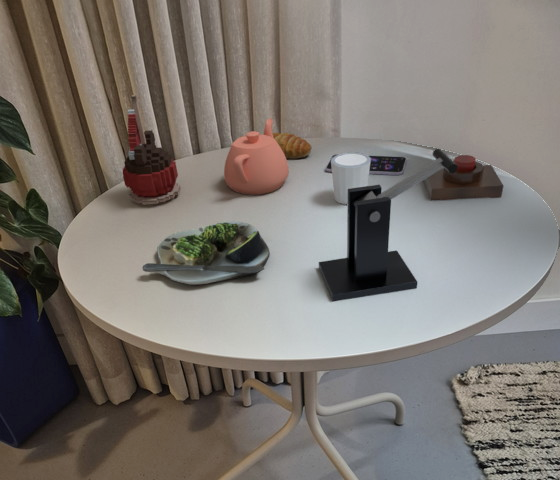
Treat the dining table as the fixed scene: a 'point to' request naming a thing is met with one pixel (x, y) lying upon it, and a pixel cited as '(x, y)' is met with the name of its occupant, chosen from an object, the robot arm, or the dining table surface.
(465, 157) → the button
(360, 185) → the white cup
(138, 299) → the dining table surface
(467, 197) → the console
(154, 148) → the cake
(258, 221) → the dining table surface
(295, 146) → the pastry
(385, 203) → the bracket
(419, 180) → the lever
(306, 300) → the dining table surface
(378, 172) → the smartphone
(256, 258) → the salad plate
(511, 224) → the dining table surface
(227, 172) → the teapot
